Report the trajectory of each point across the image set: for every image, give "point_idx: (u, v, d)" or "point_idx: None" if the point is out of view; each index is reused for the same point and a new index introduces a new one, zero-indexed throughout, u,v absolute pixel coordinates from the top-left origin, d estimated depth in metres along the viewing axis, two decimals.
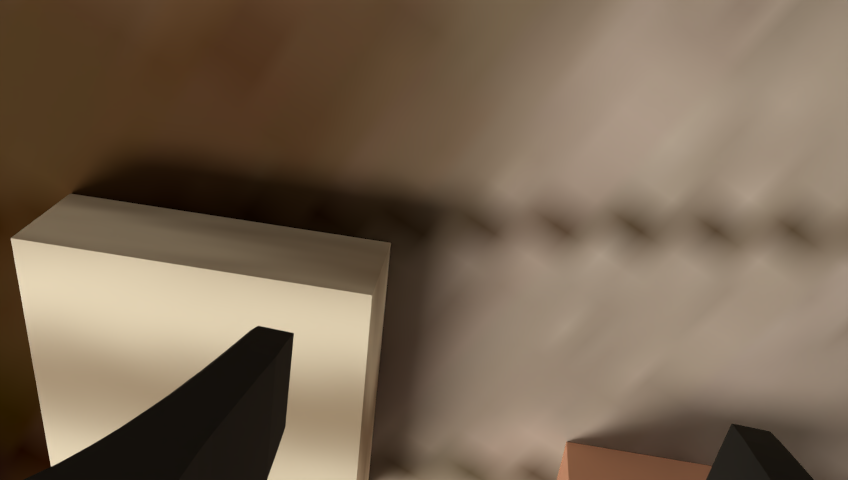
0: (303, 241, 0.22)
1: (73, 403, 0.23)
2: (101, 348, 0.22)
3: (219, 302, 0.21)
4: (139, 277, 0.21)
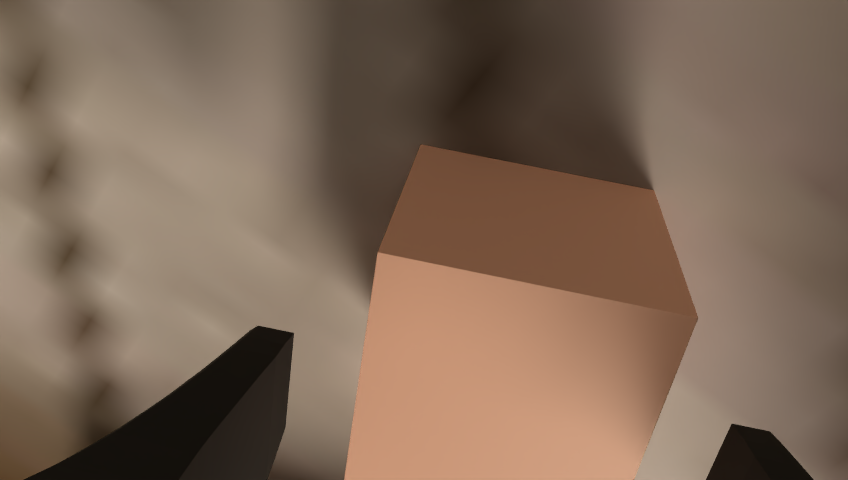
0: None
1: None
2: None
3: None
4: None
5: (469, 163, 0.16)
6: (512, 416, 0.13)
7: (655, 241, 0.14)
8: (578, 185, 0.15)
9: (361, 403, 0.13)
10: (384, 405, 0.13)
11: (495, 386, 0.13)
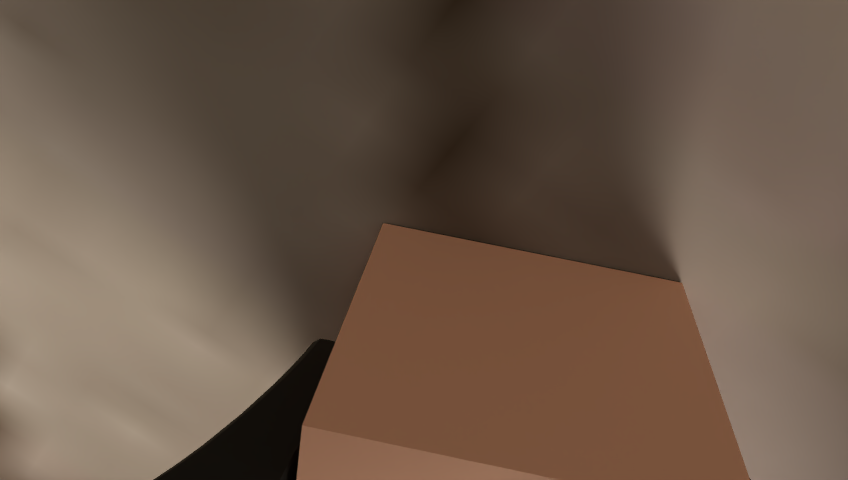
0: None
1: None
2: None
3: None
4: None
5: (444, 253, 0.12)
6: None
7: (692, 375, 0.10)
8: (585, 281, 0.12)
9: None
10: None
11: None
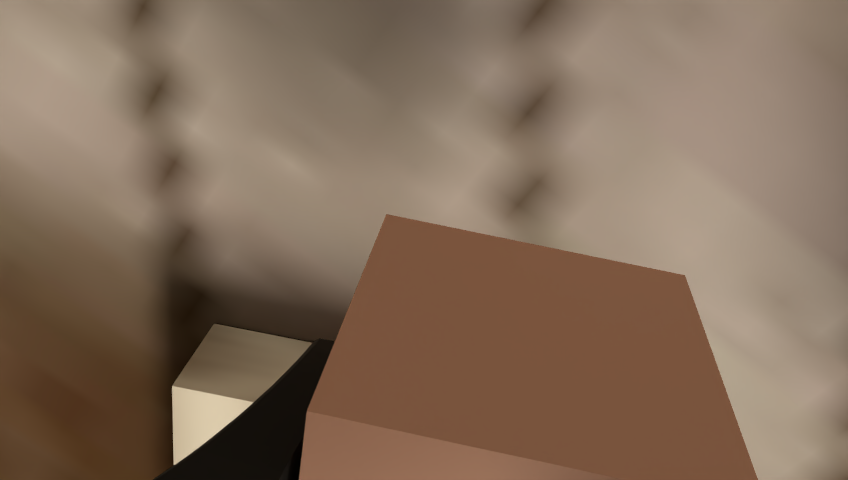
0: None
1: None
2: None
3: None
4: None
5: (447, 244, 0.12)
6: None
7: (695, 366, 0.10)
8: (588, 273, 0.12)
9: None
10: None
11: None
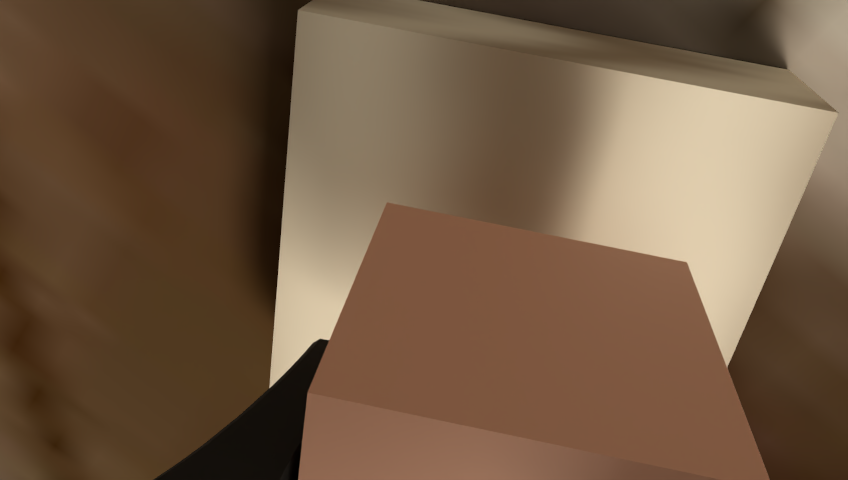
0: None
1: None
2: None
3: (328, 218, 0.16)
4: (302, 302, 0.17)
5: (448, 231, 0.12)
6: None
7: (698, 349, 0.10)
8: (590, 259, 0.12)
9: None
10: None
11: None
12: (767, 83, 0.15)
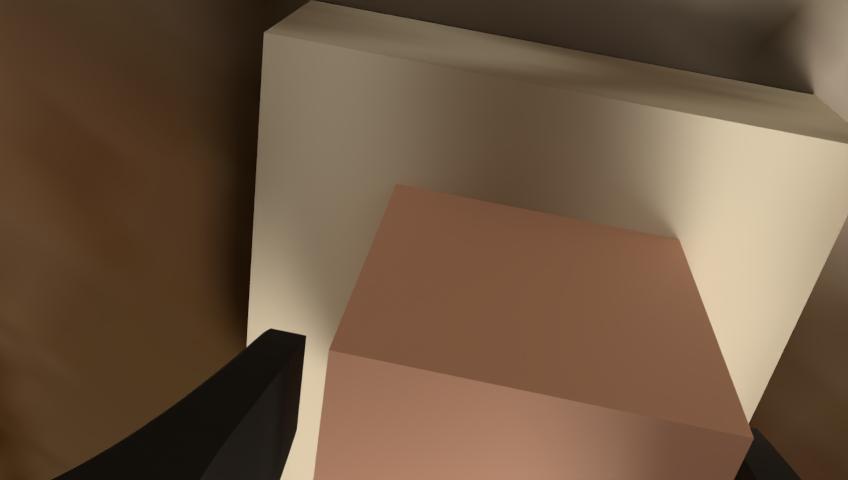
0: None
1: None
2: None
3: (302, 261, 0.14)
4: None
5: (454, 210, 0.13)
6: None
7: (687, 317, 0.11)
8: (587, 236, 0.13)
9: None
10: None
11: None
12: (794, 113, 0.13)
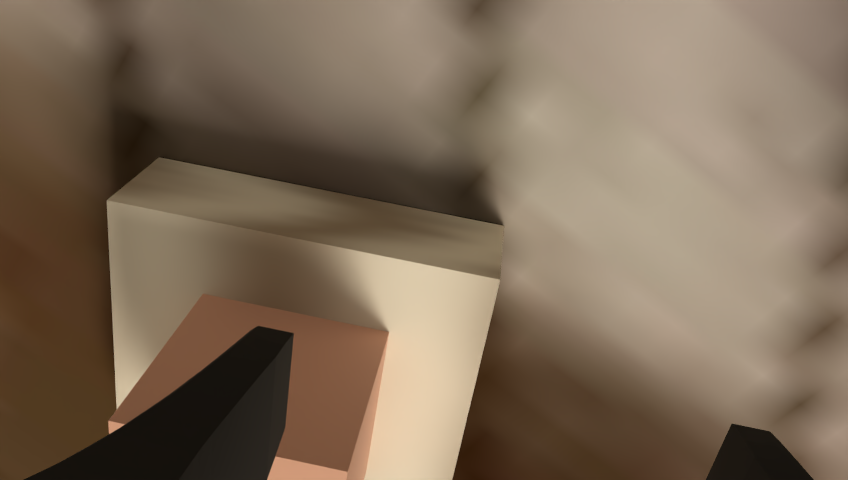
0: None
1: None
2: None
3: (147, 342, 0.21)
4: None
5: (235, 314, 0.19)
6: None
7: (356, 392, 0.17)
8: (321, 332, 0.19)
9: None
10: None
11: None
12: (466, 247, 0.20)
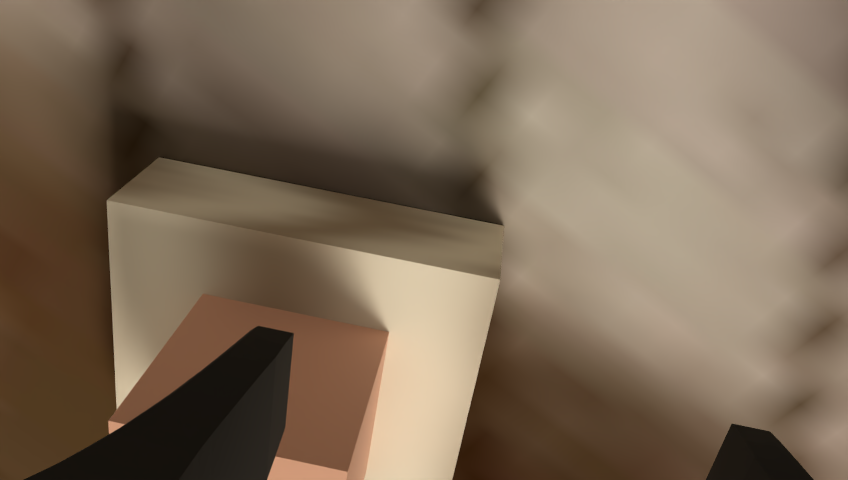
0: None
1: None
2: None
3: (147, 342, 0.21)
4: None
5: (235, 314, 0.19)
6: None
7: (356, 392, 0.17)
8: (321, 332, 0.19)
9: None
10: None
11: None
12: (466, 247, 0.20)
